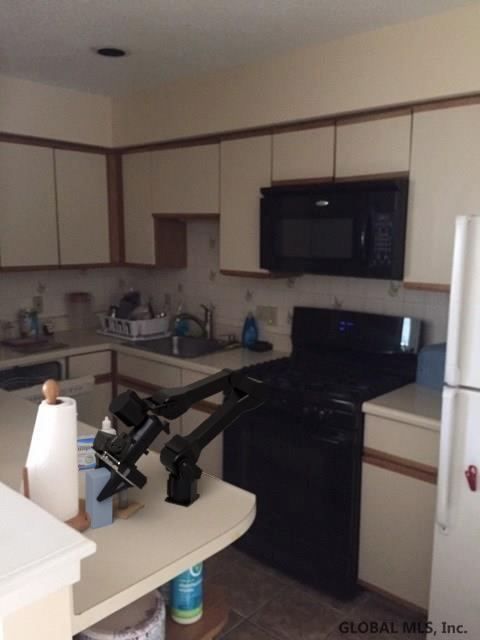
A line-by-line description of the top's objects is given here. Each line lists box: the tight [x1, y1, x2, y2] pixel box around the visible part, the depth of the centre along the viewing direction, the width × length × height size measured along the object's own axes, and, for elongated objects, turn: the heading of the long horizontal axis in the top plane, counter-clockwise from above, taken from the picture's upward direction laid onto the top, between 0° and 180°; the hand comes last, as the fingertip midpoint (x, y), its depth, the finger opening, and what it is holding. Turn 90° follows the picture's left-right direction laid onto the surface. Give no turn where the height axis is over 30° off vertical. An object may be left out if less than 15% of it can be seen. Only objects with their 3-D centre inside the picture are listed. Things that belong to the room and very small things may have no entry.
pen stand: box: [112, 488, 145, 520], centre depth 132 cm, size 7×7×5 cm
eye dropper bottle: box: [96, 416, 117, 455], centre depth 161 cm, size 4×6×12 cm
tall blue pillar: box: [84, 467, 113, 530], centre depth 125 cm, size 4×4×12 cm
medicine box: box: [76, 432, 97, 471], centre depth 154 cm, size 8×4×9 cm, turn 117°
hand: (92, 495), depth 124 cm, fingers open, 6 cm apart
